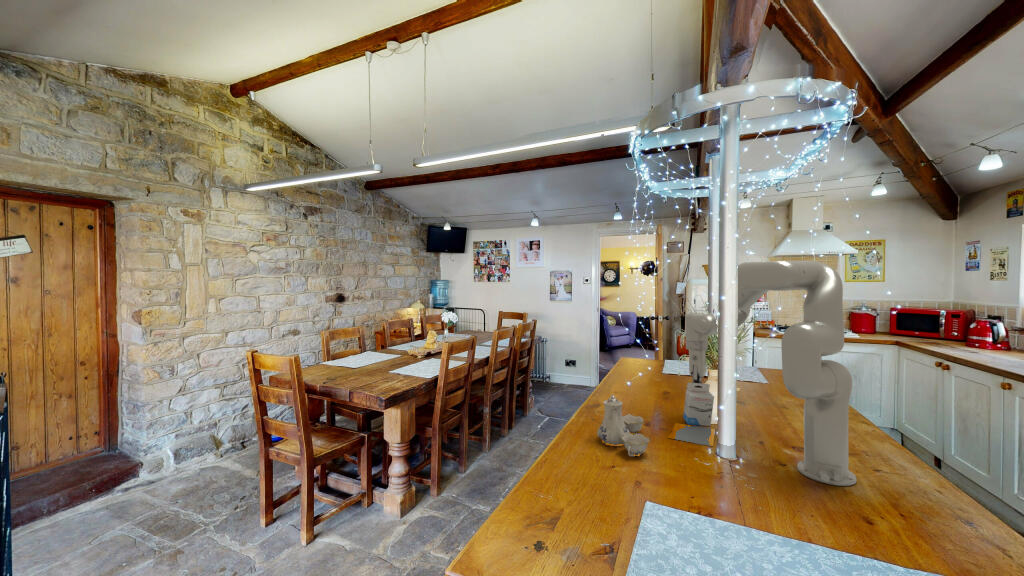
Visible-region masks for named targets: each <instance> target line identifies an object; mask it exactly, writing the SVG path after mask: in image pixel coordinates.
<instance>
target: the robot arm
mask: <svg viewBox="0 0 1024 576" xmlns="http://www.w3.org/2000/svg"><path fill="white" fill-rule="evenodd" d="M737 266H738V328H739V327H740V326H742V325H743V324H744V323H745V322H746V321H747V320H748V318H749V316H750V313H751V307H752V306H753V305H755V304H756V303H757V302H758V301H759V300H760V299H761V298H762V297H763V296H764V295H766V294H767V293H768V292H769V291H773V292H774V291H776V292H777V291H778V292H782V291H783V292H785V291H788V292H789V291H806V292H807V294H806V296H805V297H804V300H803V306H802V309H803V321H802V322H797V323H793V324H792V325H789V326H788V327H787V328H786V329H785V331H783V334H782V337H781V368H782V381H783V383H784V386H785V388H786V390H787V391H788V392H789V393H790V394H791V395H793V396H794V397H795V398H797V399H800V400H804V404H803V460H800V461H798V462H797V470H798V471H799V473H800V474H802V475H804V476H805V477H807V478H810V479H812V480H813V481H816V482H820V483H823V484H827V485H833V486H837V487H838V486H840V487H841V486H842V487H847V486H848V487H849V486H854V485H855V484H856V483H857V476H856V474H855V473H853V472H852V471H851V470H849V410H850V408H849V406H850V398H851V394H852V389H853V378H852V375H851V372H850V371H849V369H848V368H847V367H846V366H845V365H843V364H842V363H840V362H838V361H836V360H832V359H822V357H826V356H827V357H828V356H833V355H836V354H839V353H840V352H841V351H842V350H843V349H844V346H845V327H844V309H843V308H844V307H843V306H844V305H843V296H844V291H843V290H844V288H843V287H844V286H843V281H842V280H843V279H842V278H841V276H840V274H839V272H837V270H835V269H834V267H832V266H830V265H828V264H826V263H823V262H820V261H814V260H773V261H772V260H771V261H746V262H742V263H740V264H737ZM713 314H714V313H708V314H705V313H703V312H688V313H687V314H686V315H685V349H686V350H688V364H689V365H688V370H689V375H690V376H691V377H692V382H691V383H703V382H702V380H703V379H702V378H704V377H705V375H706V374H707V365H706V364H707V362H706V361H707V358H706V351H708V349H709V348H708V347H709V346H708V345H709V344H708V336H714V335H718V334H717V324H716V319H715V317H714V315H713ZM694 387H696V388H702V386H699V385H698V386H694Z"/></svg>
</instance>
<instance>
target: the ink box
mask: <svg viewBox="0 0 1024 576" xmlns="http://www.w3.org/2000/svg"><path fill="white" fill-rule="evenodd" d="M698 385H699V386H702V388H696V387H694V386H698ZM710 388H711V386H710V383H703V382H702V383H692V382H687V384H686V390H685V391H686V392H685V399H684V407H683V408H684V409H683V418H682V419H683V420H684V421H685V424H688V425H695V426H702V427H711V424H712V418H713V417H712V416H713V410H714V403H715V402H714V399H715V396H714V395H713V393H711V391H710Z"/></svg>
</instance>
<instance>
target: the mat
mask: <svg viewBox="0 0 1024 576" xmlns="http://www.w3.org/2000/svg"><path fill="white" fill-rule="evenodd" d="M684 427H685V428H682V429H679V431H678V430H677V431H676V436H675V439H676V440H675V441H678V440H681V441H680V442H683V441H686V442H685V443H688V442H691V443H690V444H694V443H695V444H694V445H699V444H700V446H704V445H708V446H707V447H710V444H709V441H708V440H709V437H710V435H711V428H712V427H708V426H702V425H693V426H689V427H688V426H687V425H686V426H684ZM714 429H715V436H717V432H716V429H717V428H714ZM707 439H708V440H707Z"/></svg>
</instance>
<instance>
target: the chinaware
mask: <svg viewBox="0 0 1024 576" xmlns="http://www.w3.org/2000/svg"><path fill="white" fill-rule="evenodd" d="M623 404H624V403H623V401H621V400H619V399H617V398H616V396H615V395H614V393H613V394H611V395H610V397H609V398H608V399H606V400H603V405H604V416H603V420H602V422H601V425H600V426H599V427H598V430H597V432H596V435H597V436H598V438H599V439H600V440H601V439H602V440H603V441H604V442H605V443H609V444H614V445H617V444H624V447H625V449H626V450H627V454H628V456H629V457H635V456H634V454H635V455H638V454H640V455H641V454H644V452H645V451H646V450H647V448H648V444H649V443H650V442H651V438H650V437H646V436H645V435H644V434H641V433H639V431H641V429H642V427H643V423H645V419H644V418H643V417H642V416H639V415H637V416H635V415H632V414H630V413H629V414H625V415H624V416H623V413H622V407H623ZM630 432H631V433H636V434H634V435H633V434H630Z"/></svg>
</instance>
